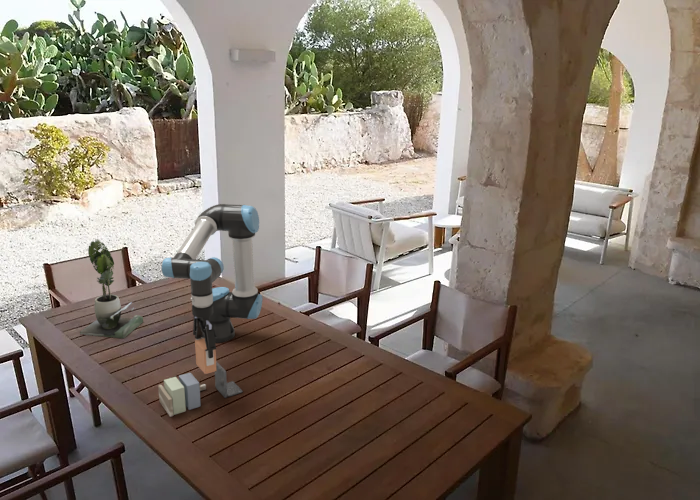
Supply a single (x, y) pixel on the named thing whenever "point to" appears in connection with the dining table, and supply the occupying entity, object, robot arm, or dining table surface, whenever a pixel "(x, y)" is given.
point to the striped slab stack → (169, 398)
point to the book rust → (203, 357)
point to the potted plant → (108, 300)
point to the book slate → (190, 390)
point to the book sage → (176, 394)
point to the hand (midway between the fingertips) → (205, 359)
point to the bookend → (225, 383)
